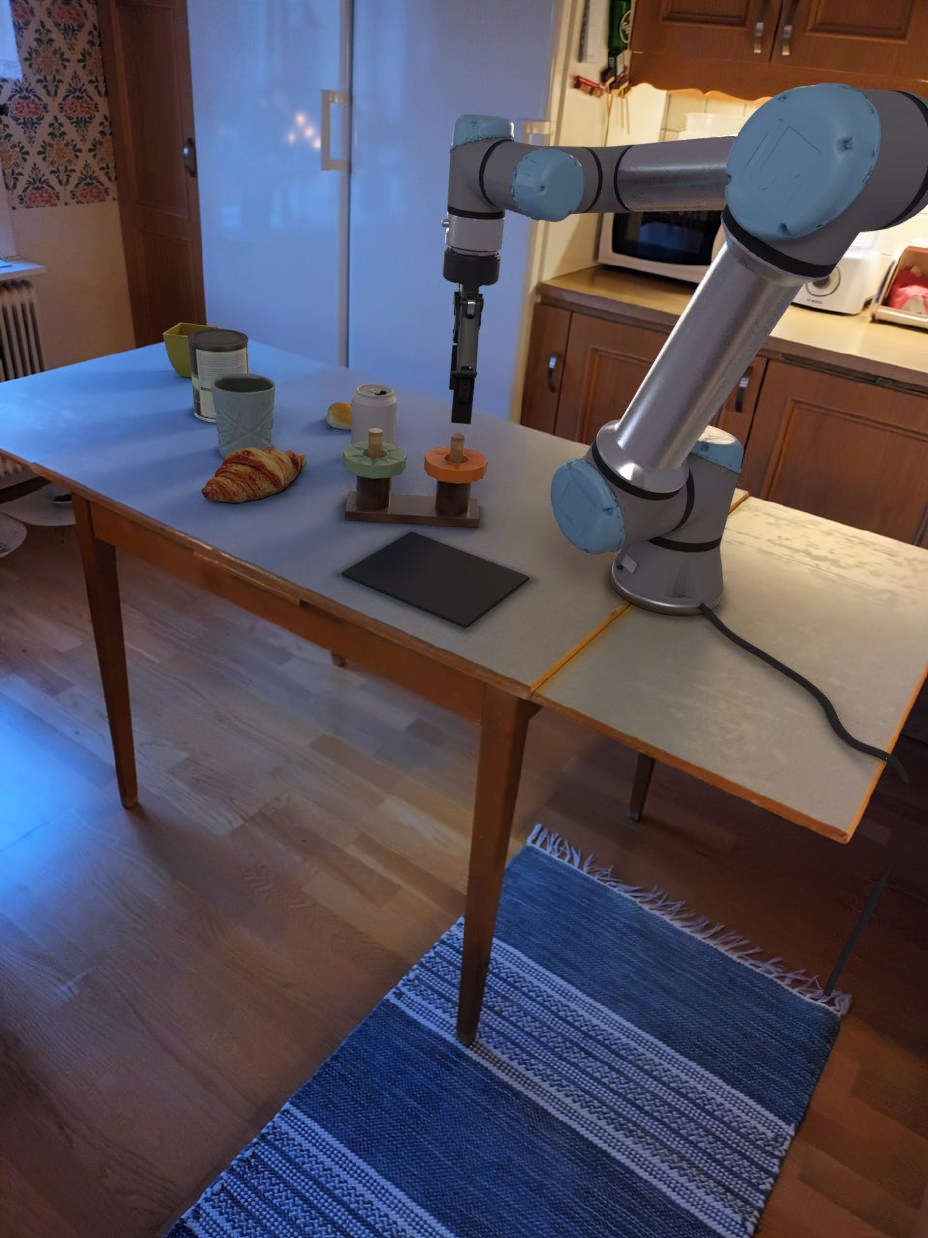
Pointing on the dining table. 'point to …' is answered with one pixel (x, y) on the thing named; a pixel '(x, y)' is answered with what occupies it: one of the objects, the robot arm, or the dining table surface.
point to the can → (373, 412)
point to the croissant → (253, 474)
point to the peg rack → (412, 496)
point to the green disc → (374, 461)
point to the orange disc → (455, 466)
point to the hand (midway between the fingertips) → (459, 405)
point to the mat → (436, 578)
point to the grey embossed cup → (243, 411)
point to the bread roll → (340, 415)
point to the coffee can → (214, 364)
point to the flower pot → (181, 346)
